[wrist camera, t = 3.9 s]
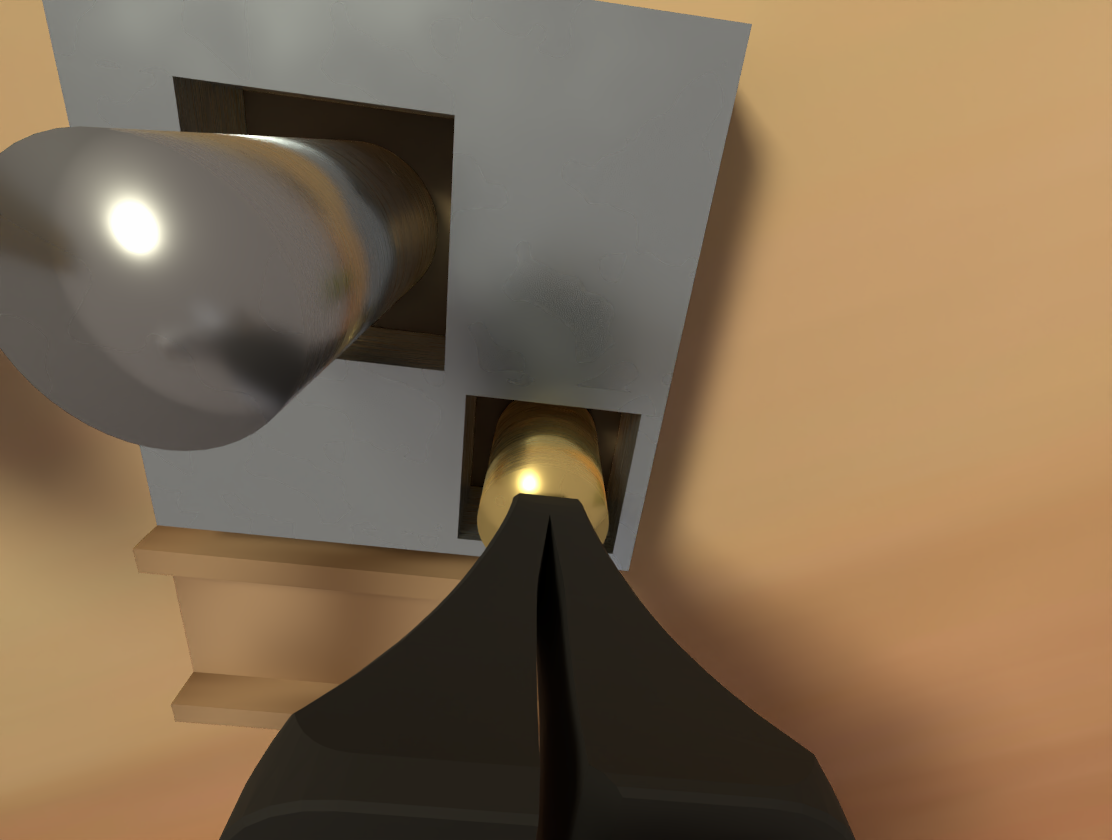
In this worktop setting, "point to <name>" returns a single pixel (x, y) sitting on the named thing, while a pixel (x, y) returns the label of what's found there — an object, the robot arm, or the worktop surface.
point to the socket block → (475, 234)
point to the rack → (287, 615)
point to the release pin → (543, 463)
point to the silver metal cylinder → (197, 271)
